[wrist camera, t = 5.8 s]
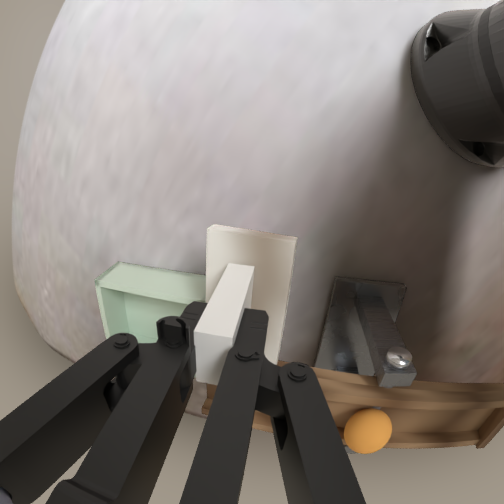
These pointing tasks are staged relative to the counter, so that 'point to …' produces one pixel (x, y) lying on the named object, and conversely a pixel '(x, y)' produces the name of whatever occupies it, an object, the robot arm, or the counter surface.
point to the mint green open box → (144, 298)
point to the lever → (347, 384)
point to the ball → (368, 430)
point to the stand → (365, 333)
